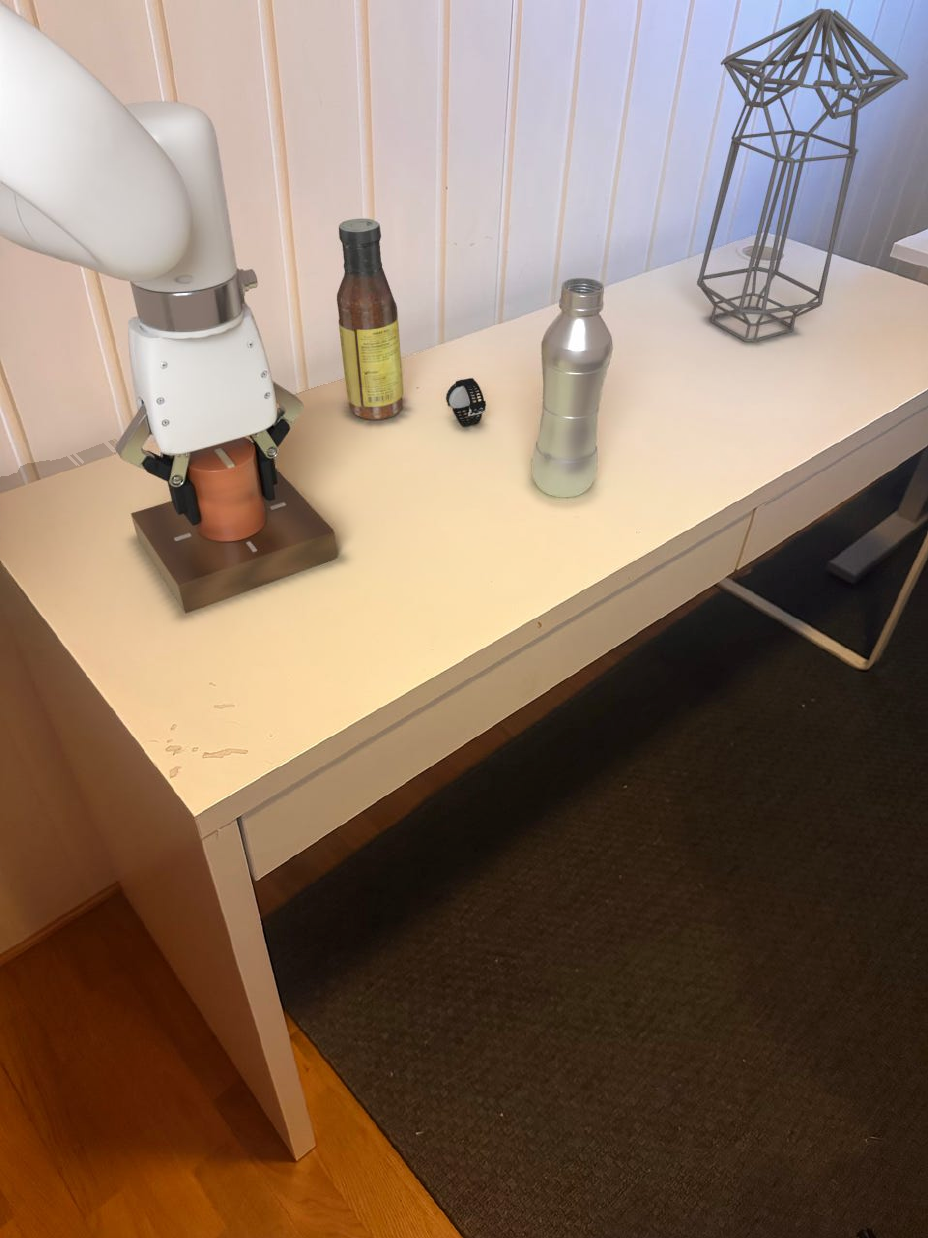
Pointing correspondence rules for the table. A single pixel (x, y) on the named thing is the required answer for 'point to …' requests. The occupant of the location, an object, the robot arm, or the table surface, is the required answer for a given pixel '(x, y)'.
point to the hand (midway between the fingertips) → (228, 503)
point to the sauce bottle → (368, 325)
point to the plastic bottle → (572, 391)
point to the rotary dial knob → (227, 490)
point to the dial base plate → (234, 549)
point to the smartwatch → (466, 401)
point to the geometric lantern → (838, 28)
